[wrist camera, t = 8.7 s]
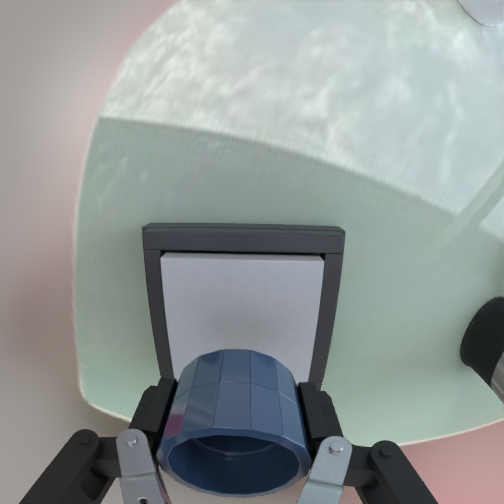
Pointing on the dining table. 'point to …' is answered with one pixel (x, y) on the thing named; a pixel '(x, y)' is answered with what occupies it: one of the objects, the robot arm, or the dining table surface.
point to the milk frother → (487, 346)
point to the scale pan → (242, 306)
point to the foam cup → (485, 11)
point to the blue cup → (235, 426)
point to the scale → (245, 242)
